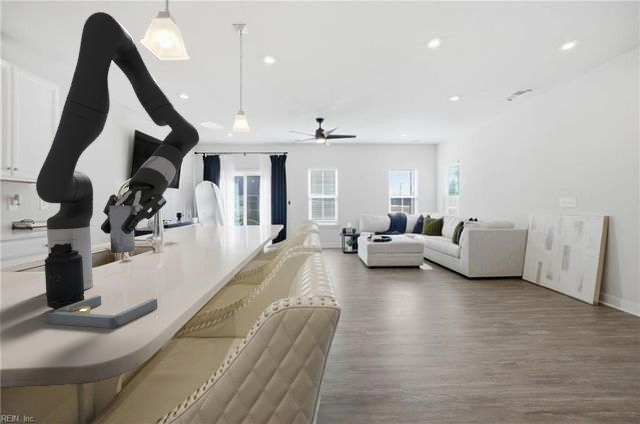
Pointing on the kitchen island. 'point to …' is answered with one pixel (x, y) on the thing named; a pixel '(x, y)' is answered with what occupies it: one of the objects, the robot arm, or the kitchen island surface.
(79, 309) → the washer
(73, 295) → the black shouldered canister
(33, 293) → the kitchen island surface
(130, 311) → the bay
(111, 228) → the post
